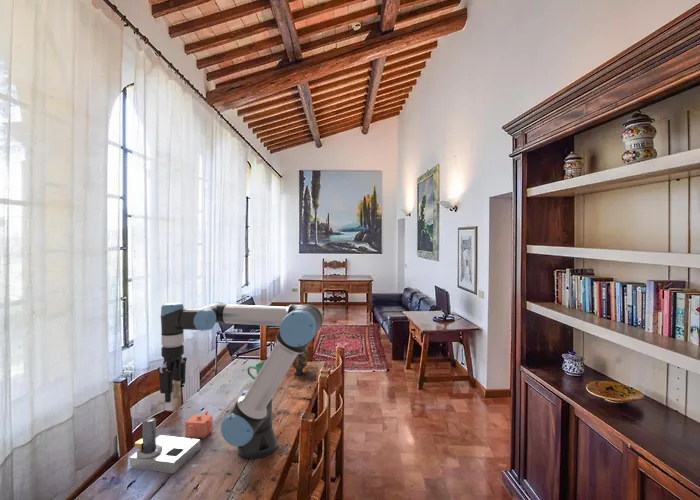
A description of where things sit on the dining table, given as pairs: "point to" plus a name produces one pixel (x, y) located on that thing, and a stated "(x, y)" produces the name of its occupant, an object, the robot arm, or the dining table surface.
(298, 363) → the vase
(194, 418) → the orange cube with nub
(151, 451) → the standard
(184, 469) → the dining table surface
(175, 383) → the tan wooden block
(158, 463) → the white base plate
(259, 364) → the mug
